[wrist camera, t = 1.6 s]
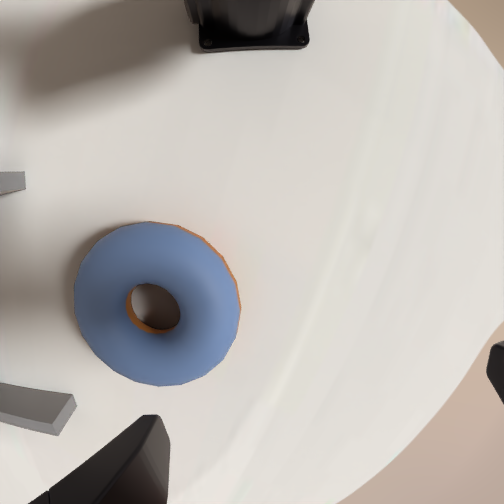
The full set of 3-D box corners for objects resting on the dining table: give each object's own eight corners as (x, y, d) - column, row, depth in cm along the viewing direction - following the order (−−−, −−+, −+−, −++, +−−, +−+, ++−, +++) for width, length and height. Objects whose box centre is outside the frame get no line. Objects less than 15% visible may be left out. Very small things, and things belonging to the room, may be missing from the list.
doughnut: (83, 212, 18) (48, 231, 14) (243, 217, 19) (250, 238, 15) (99, 348, 21) (79, 388, 17) (235, 357, 22) (238, 402, 18)
